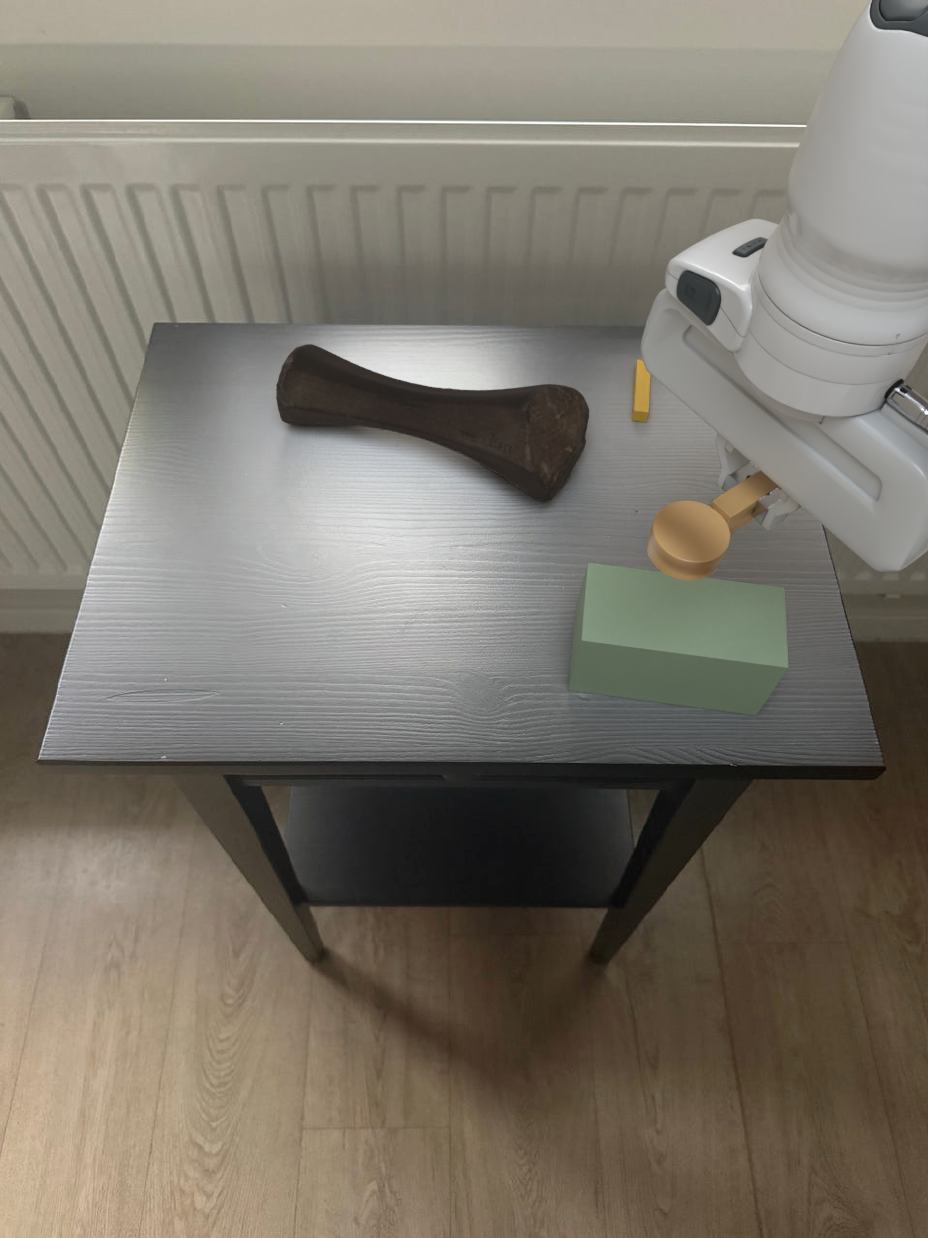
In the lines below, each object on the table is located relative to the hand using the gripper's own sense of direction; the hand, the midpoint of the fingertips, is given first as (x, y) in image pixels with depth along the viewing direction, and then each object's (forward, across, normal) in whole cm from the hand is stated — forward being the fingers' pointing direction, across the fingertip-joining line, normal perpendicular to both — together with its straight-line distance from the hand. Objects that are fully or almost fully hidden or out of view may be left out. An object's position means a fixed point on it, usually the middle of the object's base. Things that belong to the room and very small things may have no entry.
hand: (749, 503), depth 59 cm
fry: (+21, +24, -18) cm, 37 cm away
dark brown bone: (+21, +30, +3) cm, 37 cm away
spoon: (+1, 0, +1) cm, 1 cm away
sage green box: (+21, +1, +1) cm, 21 cm away
